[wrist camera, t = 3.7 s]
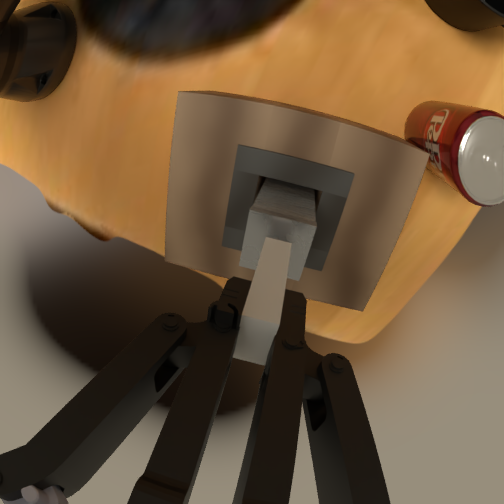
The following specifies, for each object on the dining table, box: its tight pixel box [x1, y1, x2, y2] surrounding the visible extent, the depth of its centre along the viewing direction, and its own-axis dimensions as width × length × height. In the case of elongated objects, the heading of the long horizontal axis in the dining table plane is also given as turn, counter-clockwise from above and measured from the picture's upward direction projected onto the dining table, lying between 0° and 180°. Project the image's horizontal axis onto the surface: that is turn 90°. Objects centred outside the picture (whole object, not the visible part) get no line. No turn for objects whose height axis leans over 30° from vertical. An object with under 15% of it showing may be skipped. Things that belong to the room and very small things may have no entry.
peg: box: [239, 177, 317, 281], centre depth 22 cm, size 4×4×8 cm
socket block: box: [165, 91, 430, 311], centre depth 27 cm, size 20×16×8 cm
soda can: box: [405, 101, 504, 207], centre depth 19 cm, size 7×7×12 cm
